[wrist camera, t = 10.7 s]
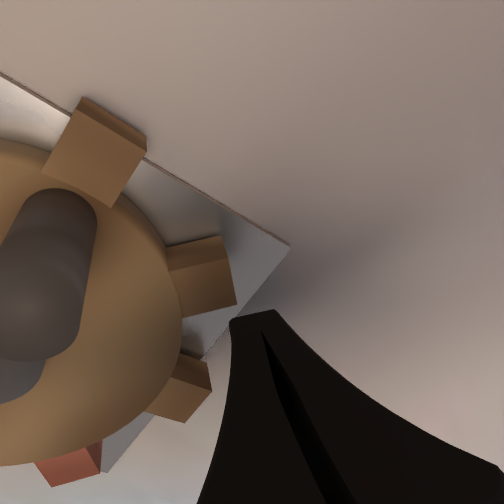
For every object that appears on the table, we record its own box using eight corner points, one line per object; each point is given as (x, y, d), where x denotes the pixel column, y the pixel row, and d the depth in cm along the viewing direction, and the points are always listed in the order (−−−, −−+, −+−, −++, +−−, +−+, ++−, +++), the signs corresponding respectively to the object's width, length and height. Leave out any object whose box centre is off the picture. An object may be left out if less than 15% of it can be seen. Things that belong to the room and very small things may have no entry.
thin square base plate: (289, 244, 15) (291, 248, 15) (107, 466, 19) (107, 472, 19) (-222, -60, 9) (-233, -62, 8) (-342, 371, 12) (-351, 379, 12)
